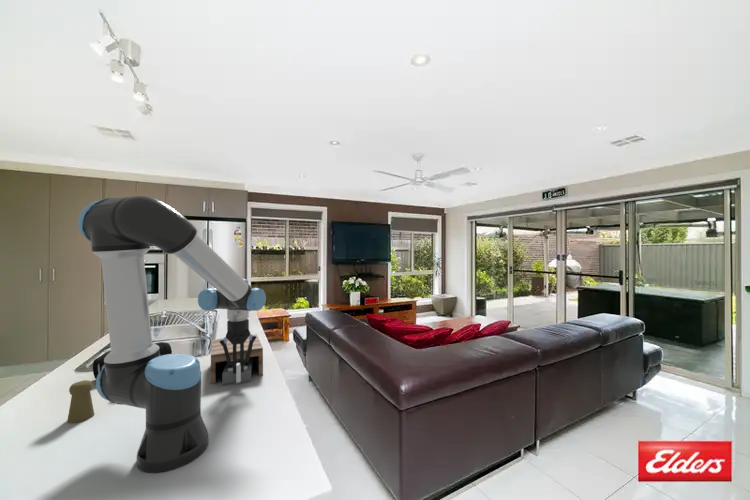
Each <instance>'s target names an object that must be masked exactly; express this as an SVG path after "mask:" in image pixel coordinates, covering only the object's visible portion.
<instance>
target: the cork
mask: <svg viewBox="0 0 750 500" xmlns="http://www.w3.org/2000/svg"><path fill="white" fill-rule="evenodd" d="M93 386H94V385H93V382H92V381H91V380H86V379H85V380H80V381H76V382H75V383H72V384H71V385H70V387H69V390H68V392H69V394H70V396H71V398H70V403H69V408H68V409H69V411H68V414H67V423H68V424H77V423H78V424H79V423H82V422H84V421H87V420H88V421H89V419H91V418H93V417H94V416H95V411H94V410H95V409H94V405H93V399H92V394H91V393H92V392H91V391H92V389H93Z"/></svg>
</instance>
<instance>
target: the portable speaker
mask: <svg viewBox="0 0 750 500" xmlns="http://www.w3.org/2000/svg"><path fill="white" fill-rule="evenodd" d="M153 343H154V344H156V345H158V346H159V349H160V356H162V355H167V354H173V353H172V352H173V351H172V347H171V344H170V343H168V342H163V341H159V342H153ZM108 354H109V353H106V354H103V355H100V356H98V357H97V358H95V359H93V361H92V362H93V363H92V373H93V377H94V379H95V380H96V379H97V376H98V373H99V372H100V371H101V370H102V367H103V366H104V358H105V357H106V356H107V355H108Z"/></svg>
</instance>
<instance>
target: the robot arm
mask: <svg viewBox="0 0 750 500" xmlns="http://www.w3.org/2000/svg"><path fill="white" fill-rule="evenodd" d="M77 226H78V230H79V232H80V233H81V235H82V236H83V237H84V238H85V239H86V240H88V241H89V242H90V243H91V244H90V245H91V253H92V254H94V255H95V256H96V257H98V258H100V260H101V269H102V278H103V287H104V288H103V289H104V296H105V297H104V298H105V305H106V315H107V325H108V335H109V344H110V351H109V352H108V353H107V354H108V355H107V356H106V357H105V358H104V366H103V367H102V370H101V371H100V372H99V373H98V376H97V379H95V386H96V390H97V393H98V395H99V396H100V397H101V398H103V399H104V400H106V401H108V402H110V403H113V404H117V405H121V406H124V405H125V406H128V407H133V408H134V407H135V408H137V409H138V408H139V409H144V410H145V431H144V433H143V436H142V438H141V441H140V443H139V448H138V450H137V452H136V453H137V454H136V467H137V468H138V470H140V471H141V472H144V473H162V472H167V471H171V470H174V469H177V468H180V467H182V466H184V465H187V464H189V463H191V462H192V461H194V460H195V459H197V458H199V456H201V455H202V454H203V453H205V451H206V449H207V447H208V445H209V431H208V428H207V427H206V424H205V422H204V419H203V417H202V415H201V413H202V412H201V411H202V410H201V408H202V407H201V405H202V403H201V402H202V401H201V400H202V371H201V363H200V361H199V358H197V357H196V356H194V355H191V354H187V353H177V354H176V353H172V354H167V355H162V356H160V349H159V346H158V345H156V344H154V343H155V342H153V340H152V339H153V338H152V337H153V336H152V328H151V320H150V319H151V316H150V308H149V297H148V287H147V286H148V285H147V278H146V277H147V274H146V267H145V266H146V265H145V255H146V254H147V253H148V252H149V251H150V250H151V246H154V247H155V248H158V249H159V250H161V251H162V252H164V253H165V254H166V255H174V256H175V257H176V258H178V259H179V260H180V261H181V263H182V262H183V263H184V265H186V266H187V267H188V268H190V269H191V270H192V271H193V272H195V273H196V274H197V275H198V276H200V277H201V278H202V279H203V280H204V281H205V282H207V284H209V285H210V286H212V287H207V288H204V289H202V290H200V292H199V293H198V296H197V304H198V306H199V307H200V309H201V310H203V311H207V312H208V311H214V310H226V313H227V316H226V319H227V323H226V328H227V330H226V331H227V332H226V334H225V336H224V337H223V339H222V338H219V339H220V344H221V345H222V346H223V349H224V352H225V356H226V359H227V363H228V365H233V374H236V383H237V384H240V383H239V382H241V372H244V363H245V362H248V361H249V358H250V354H251V350H252V346H253V342H254V341H255V339H256V336H255V335H256V334H252V333H251V331H250V329H249V328H250V327H249V326H250V323H249V321H250V320H249V319H248V318H249V316H250V315H249V313H250V312H252V311H257V312H259V311H260V310H262V309H263V308H264V306H265V304H266V302H267V301H266V300H267V296H266V293H265V291H264V289H262V288H258V287H252V286H251V285H250V284H249V280H248V279H246V278H242V277H241V276H240V275H239V274H238V273H237V272H236V271H235V270H234V269H233V267H231V266H230V265H229V264H228V263H227V262H226V261H225V260H224V258H222V257H221V256H219V254H218V253H217V252H215V250H214V249H212V247H210V246H209V244H207V243H206V241H204V239H202V238H201V237H200V236H199V235H198V228H197V227H196V226H194V224H192V223H191V222H190V221H189V220H188V219H187V218H186V217H185V216H184V215H182V214H181V213H180V212H179V211H177V210H176V209H175V208H173V207H172V206H170V205H168V204H167V203H165V202H163V201H161V200H159V199H157V198H153V197H150V196H146V195H135V196H134V195H133V196H125V197H124V196H123V197H110V198H109V197H106V198H103V199H102V198H101V199H100V200H96V201H93V202H91V203H89V204H87V205H86V206H85V207H84V208H83V209H82V210H81V212H80V214H79V216H78V220H77ZM248 337H249V340H250V341H249V345H248V349H247V353H246V357H245V358H244V342H245V341H246V340H247V338H248ZM227 339H228V340H229V341H230V342H231V344H233V360H231V359H230V355H229V351H228V348H227V344H226V343H227ZM237 344H240V363H237V354H236V347H237Z"/></svg>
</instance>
